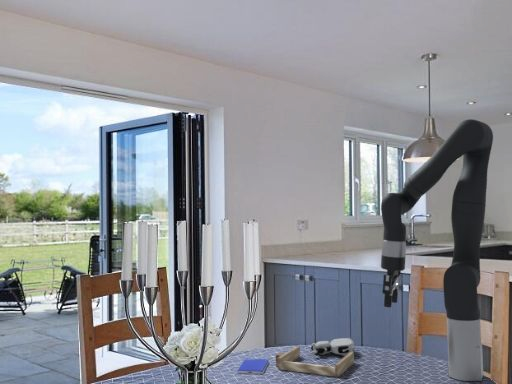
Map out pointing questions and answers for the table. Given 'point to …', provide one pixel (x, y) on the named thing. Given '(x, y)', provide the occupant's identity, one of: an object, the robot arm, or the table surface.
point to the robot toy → (333, 347)
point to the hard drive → (253, 366)
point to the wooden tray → (286, 363)
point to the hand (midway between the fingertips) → (390, 304)
